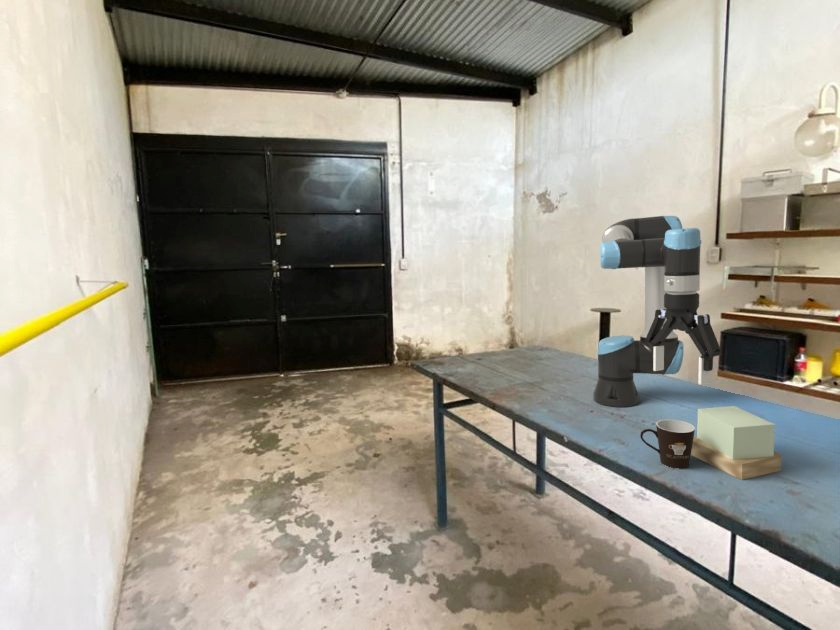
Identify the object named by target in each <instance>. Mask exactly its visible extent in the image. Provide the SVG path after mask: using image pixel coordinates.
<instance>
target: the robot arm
mask: <svg viewBox="0 0 840 630" xmlns="http://www.w3.org/2000/svg"><path fill="white" fill-rule="evenodd" d="M701 245H702V240H701V230H700V229H699V228H698V227H691V228H689V227H688V228H687V227H686V228H683V225H682V221H681V219H680V218H679V217H678V216H677V215H676V216H675V215H661V216H660V215H659V216H650V217H649V216H648V217H647V216H646V217H637V218H627V219H624V220H620V221H618V222H616V223H614V224H612V225H610V226H608V228H606V229H605V230H604V232H603V234H602V243H601V244H600V246H599V247H600V248H599V250H600V251H599V253H600V254H599V255H600V267H601V268H602V269H603V270H618V269H632V268H633V269H635V268H636V269H637V268H644V331H643V332H642V333H640V335H639V340H638V339H636V340H635V338H634V336H632V335H624V334H623V335H622V334H621V335H613V336H612V335H611V336H608V337H605V338H603V339H601V340H599V342H598V347H597V348H598V349H597V355H598V356H597V357H598V360H597V361H598V362H597V364H598V366H597V371H598V372H597V374H598V375H597V376H598V377H597V382H596V384H595V389H594V391H593V393H592V394H593V397H592V399H593V401H594V402H596V403H597V404H599V405H603V406H607V407H613V408H615V407H616V408H624V407H625V408H627V407H633V406H636V405H638V404H639V402H640V395H639V393H638V389H637V387H636V384H635V381H634V374H641V375H642V374H644V375H645V374H648V375H649V374H651V375H662V376H664V375H676V374H678V373H679V372H680V370H681V367H682V364H683V359H684V347H685V346H684V343H683V341H682V340H679V335H678V334H677V333H676V332H675V331H677V330H678V331H681V332H684V333H686V334H687V335H688V336H689V338H690V339H691V341H692V342H693V344H694V346H695V347H696V348H697V350H698V351H699V353H700V355H701V356H698V372H697V373H698V377H697V380H698V381H697V382H698V385H700V386H701V385H707V384H710V383H711V371H712V372H713V368H714V357H718V356H722V355H723V352H722V348H721V347H720V344H719V341H718V340H717V337H716V335H715V332H714V330H713V326H712V325H711V316H710V315H709V314H707V313H706V314H698V312H697V311H698V308H700V294H699V293H698V292H699V291H700V290H701V287H700V286H701V285H700V283H701V282H700V280H701V279H700V277H701V276H700V275H701V274H700V270H701V269H700V268H701V266H700V265H701ZM674 330H675V331H674Z"/></svg>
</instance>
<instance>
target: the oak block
mask: <svg viewBox="0 0 840 630" xmlns="http://www.w3.org/2000/svg"><path fill="white" fill-rule="evenodd" d="M692 456H693V457H694V458H696V459H698V460H701V461H702V462H705V463H706V464H708V465H711V466H712V467H715V468H717V469H718V470H720V471H723V472H724V473H727V474H729V475H731V476H733V477H735V478H737V479H739V480H741V481H743V480H748V479H753V478H756V477H760V476H764V475H768V474H773V473H776V472H781V471H782V454H780V453H777V452H775V451H774V456H771V457H759V458H747V459H735V460H733V459H731V458H729V457H728V456H726V455H725V454H723V453H721V452H720V451H718V450H716V449H715V448H713V447H712V446H710V445H708V444H707V443H705V442H703V441H702V440H700V439H699V438H697V437H694V438H693V444H692V450H691V457H692Z"/></svg>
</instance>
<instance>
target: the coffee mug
mask: <svg viewBox="0 0 840 630" xmlns="http://www.w3.org/2000/svg"><path fill="white" fill-rule="evenodd" d="M655 425H656V426H655V427H656V430H654V429H652V428H647V429H646V428H645V429H643V430H641V432H640V435H639V436H640V439H641V441H642V442H643V443H644V444H645V445H647V446H648V447H649V448H651V449H652V450H654V451H656V452H657V453H658V454H659V460H660V463H661V464H662V465H663V464H664V465H663V466H665V465H666V466H665V467H667V466H668V468H670V467H671V468H672V469H675V468H679V469H678V470H684V469H683V468H685V469H688V468H689V466H690V461H691V457H692V455H691V450H692V444H693V438H695V430H696V427H695V426H694V425H693V424H692V423H689V422H686V421H684V420H678V419H661V420H658V421H656V423H655ZM647 432H651V433H653V434H654V435H655V437H656V438H657V443H658V448H656V447H655V446H653V445H651V444H650V443H648V442H647V441H646V440H645V439H644V437H643V436H644V434H645V433H647Z"/></svg>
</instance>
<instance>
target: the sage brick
mask: <svg viewBox="0 0 840 630" xmlns="http://www.w3.org/2000/svg"><path fill="white" fill-rule="evenodd" d="M775 428H776V423H773V422H770V421H768V420H766V419H764V418H762V417H759V416H757V415H755V414H752V413H751V412H748V411H746V410H744V409H742V408H740V407H737V406H735V405H731V406H719V407H718V406H717V407H706V408H705V407H702V408H698V409H697V427H696V431H697V432H696V438H699V439H700V440H702V441H703V442H705V443H707V444H708V445H710V446H712V447H713V448H715V449H716V450H718V451H720V452H721V453H723V454H725V455H726V456H728V457H729V458H731V459H733V460H735V459H747V458H759V457H771V456H774V452H775V451H774V450H775V434H776V432H775V431H776V430H775Z"/></svg>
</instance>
